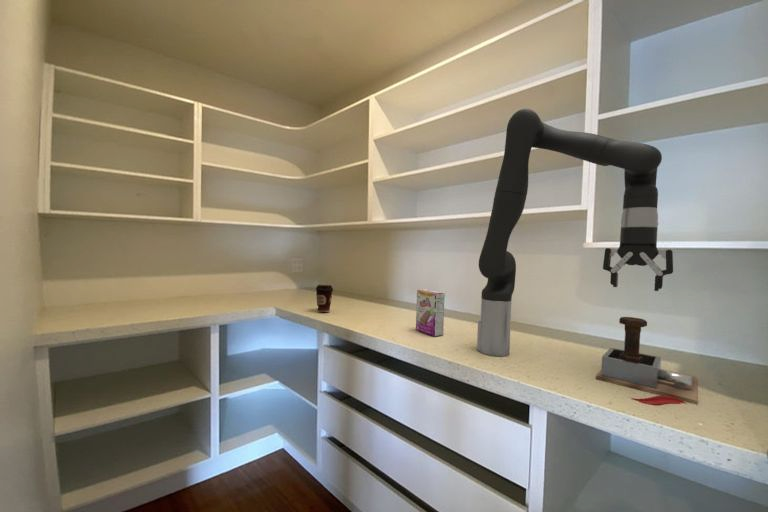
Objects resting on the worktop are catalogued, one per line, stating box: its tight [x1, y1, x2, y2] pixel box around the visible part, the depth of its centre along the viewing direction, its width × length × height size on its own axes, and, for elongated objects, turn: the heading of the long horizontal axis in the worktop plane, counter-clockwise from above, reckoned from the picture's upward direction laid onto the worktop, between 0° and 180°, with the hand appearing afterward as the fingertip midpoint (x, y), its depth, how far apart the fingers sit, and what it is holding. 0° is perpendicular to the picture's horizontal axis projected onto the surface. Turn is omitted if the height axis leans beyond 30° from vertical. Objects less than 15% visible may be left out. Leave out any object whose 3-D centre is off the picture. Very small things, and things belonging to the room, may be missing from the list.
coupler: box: [601, 347, 693, 391], centre depth 85 cm, size 17×18×5 cm
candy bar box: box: [415, 288, 446, 337], centre depth 127 cm, size 11×5×16 cm, turn 34°
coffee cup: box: [315, 284, 334, 313], centre depth 164 cm, size 9×8×13 cm
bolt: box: [619, 316, 648, 364], centre depth 85 cm, size 6×5×15 cm
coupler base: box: [595, 368, 698, 406], centre depth 85 cm, size 19×20×1 cm
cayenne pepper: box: [630, 395, 688, 406], centre depth 72 cm, size 12×5×2 cm, turn 72°
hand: (635, 288), depth 85 cm, fingers open, 8 cm apart
